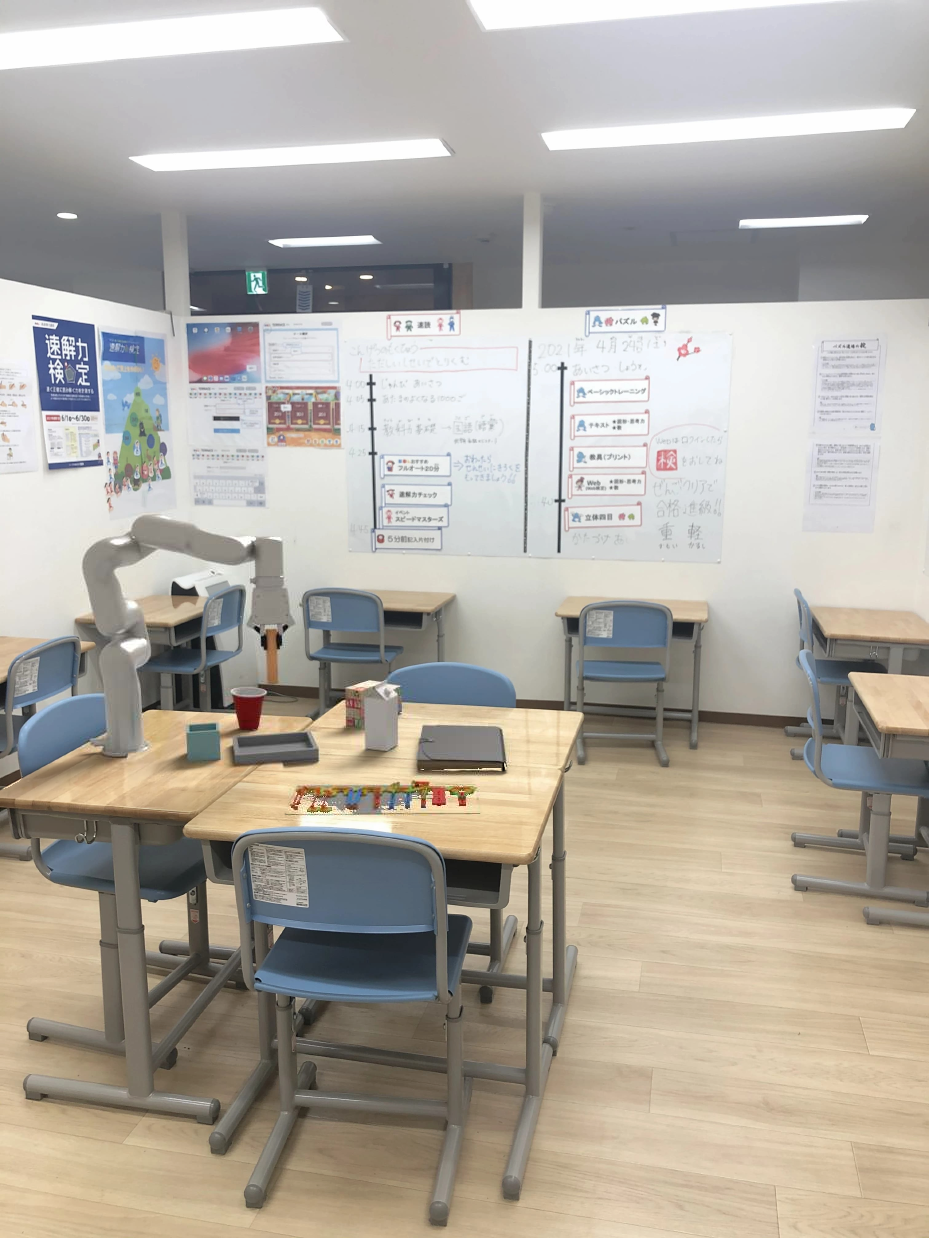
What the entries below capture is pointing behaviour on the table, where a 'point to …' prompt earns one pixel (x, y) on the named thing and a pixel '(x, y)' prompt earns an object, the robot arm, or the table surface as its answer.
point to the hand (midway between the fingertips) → (271, 648)
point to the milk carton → (381, 718)
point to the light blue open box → (203, 742)
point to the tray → (276, 748)
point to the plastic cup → (248, 706)
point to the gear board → (376, 796)
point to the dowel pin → (272, 656)
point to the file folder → (460, 747)
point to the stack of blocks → (356, 702)
